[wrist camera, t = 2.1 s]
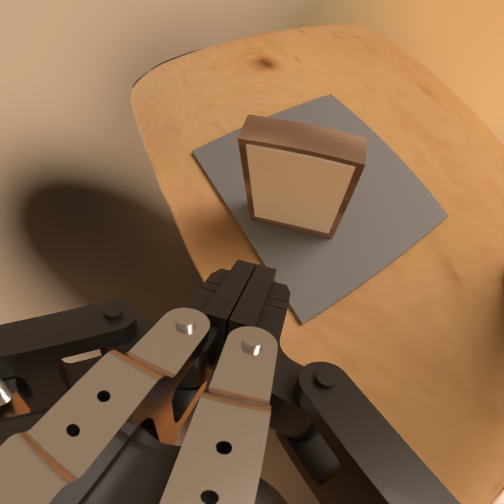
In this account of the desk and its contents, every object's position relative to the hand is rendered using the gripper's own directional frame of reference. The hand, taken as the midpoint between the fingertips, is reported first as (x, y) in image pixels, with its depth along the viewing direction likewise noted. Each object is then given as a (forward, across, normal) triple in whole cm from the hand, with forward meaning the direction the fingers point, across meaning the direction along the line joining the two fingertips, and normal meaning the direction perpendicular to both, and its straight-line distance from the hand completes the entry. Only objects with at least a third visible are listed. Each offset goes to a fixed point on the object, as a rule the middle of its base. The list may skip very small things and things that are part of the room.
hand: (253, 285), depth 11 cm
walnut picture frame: (+23, 0, +4) cm, 24 cm away
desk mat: (+29, -3, 0) cm, 29 cm away
